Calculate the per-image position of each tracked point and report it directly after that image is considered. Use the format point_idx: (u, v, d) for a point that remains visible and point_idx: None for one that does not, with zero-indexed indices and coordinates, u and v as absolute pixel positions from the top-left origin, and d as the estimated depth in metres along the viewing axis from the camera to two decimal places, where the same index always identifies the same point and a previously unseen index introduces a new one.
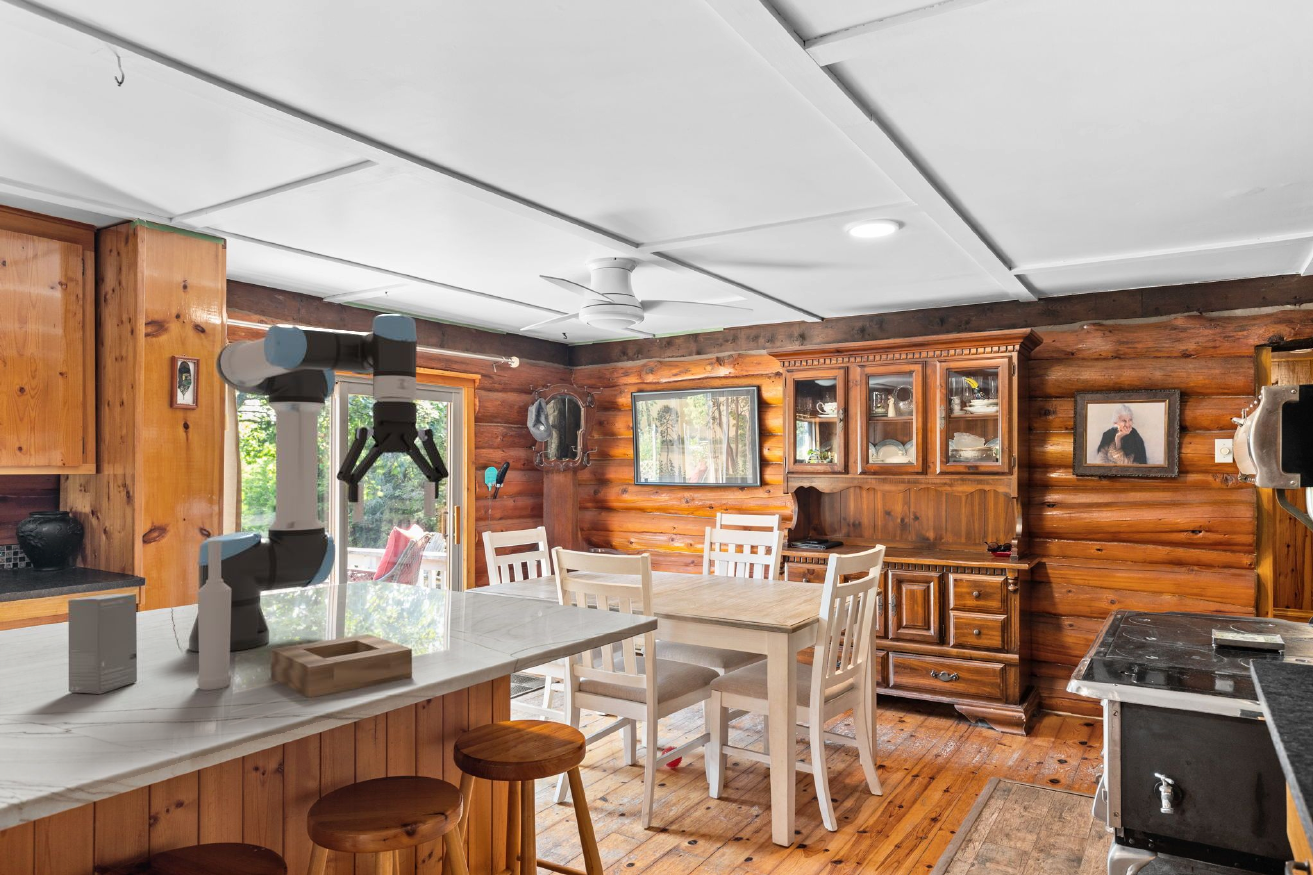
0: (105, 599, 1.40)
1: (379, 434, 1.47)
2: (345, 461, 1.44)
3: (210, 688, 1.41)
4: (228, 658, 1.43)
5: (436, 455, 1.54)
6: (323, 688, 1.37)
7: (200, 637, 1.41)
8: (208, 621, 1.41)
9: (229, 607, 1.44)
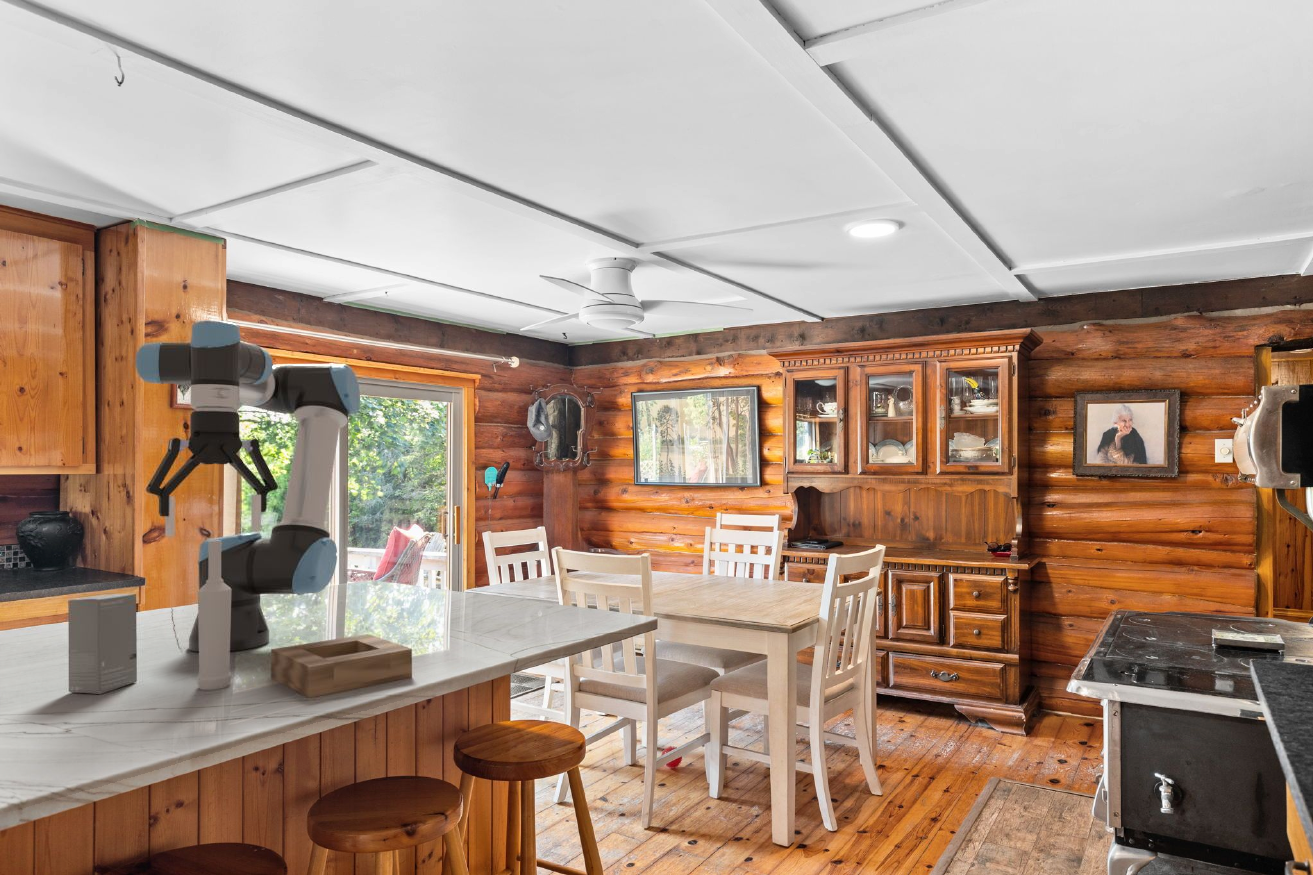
0: (105, 599, 1.40)
1: (194, 445, 1.41)
2: (155, 473, 1.38)
3: (210, 688, 1.41)
4: (228, 658, 1.43)
5: (263, 466, 1.48)
6: (323, 688, 1.37)
7: (200, 637, 1.41)
8: (208, 621, 1.41)
9: (229, 607, 1.44)
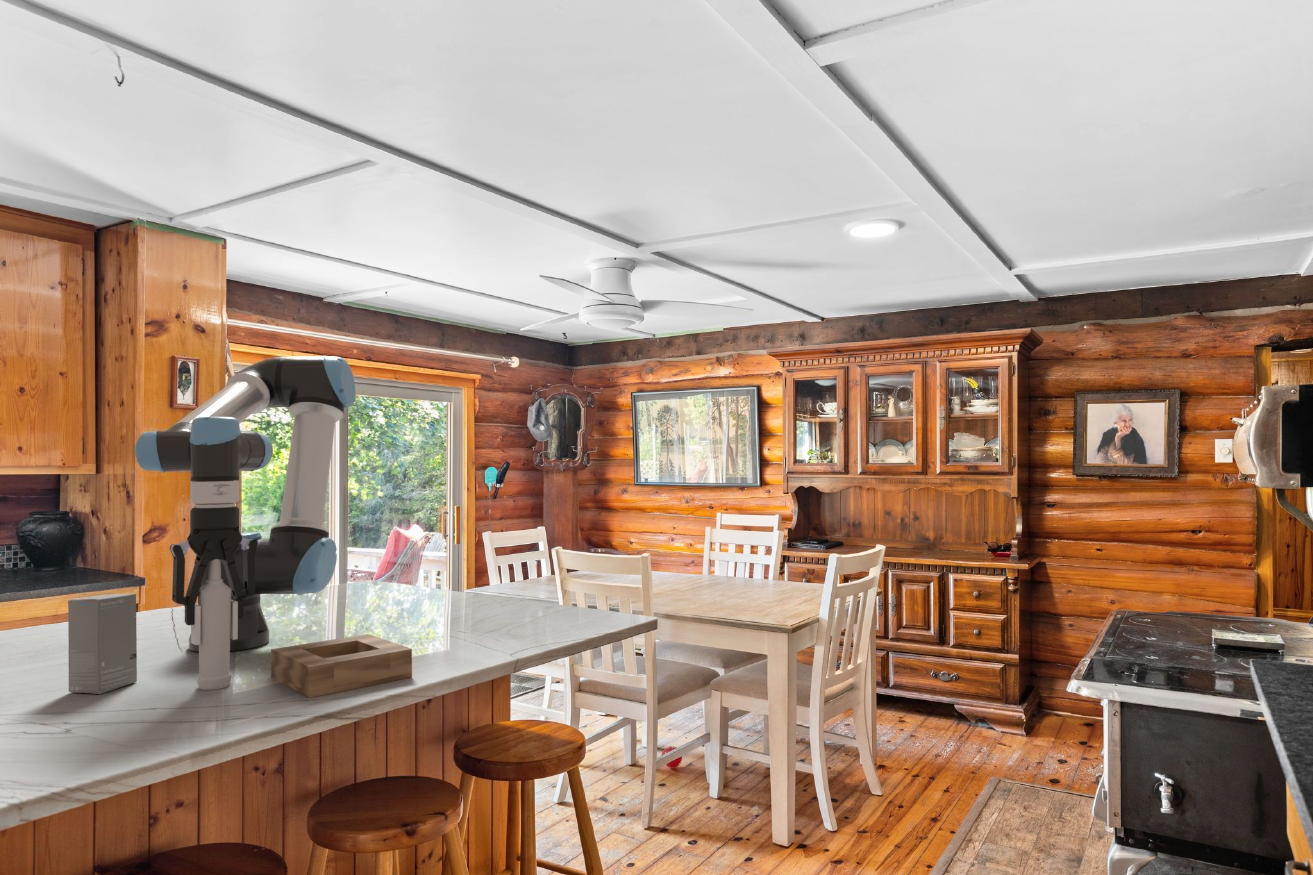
0: (105, 599, 1.40)
1: (195, 543, 1.41)
2: (173, 583, 1.40)
3: (210, 688, 1.41)
4: (228, 658, 1.43)
5: (250, 569, 1.46)
6: (323, 688, 1.37)
7: (200, 637, 1.41)
8: (208, 621, 1.41)
9: (229, 607, 1.44)
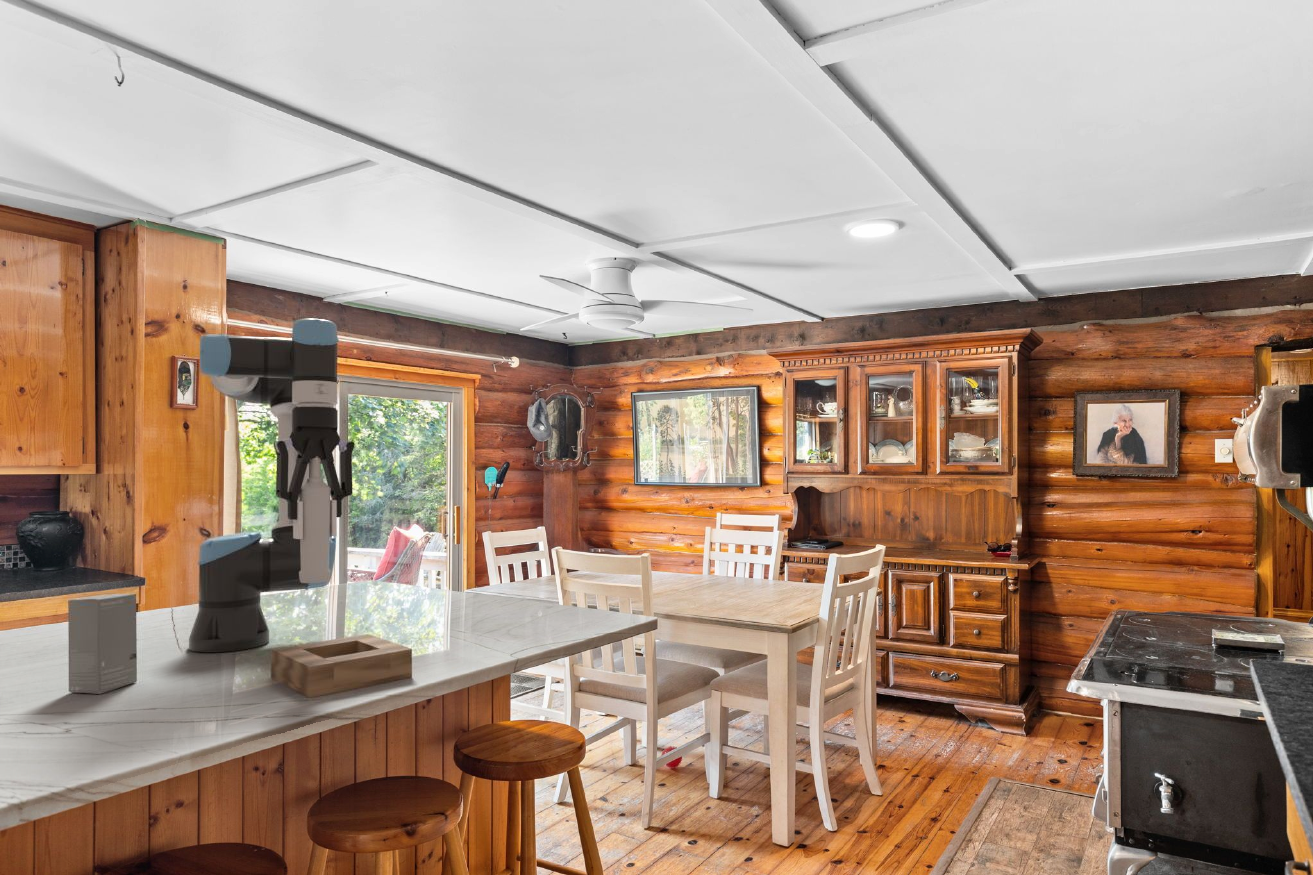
0: (105, 599, 1.40)
1: (298, 440, 1.45)
2: (277, 478, 1.44)
3: (312, 581, 1.45)
4: (328, 554, 1.47)
5: (348, 469, 1.50)
6: (323, 688, 1.37)
7: None
8: (310, 517, 1.45)
9: (329, 505, 1.48)
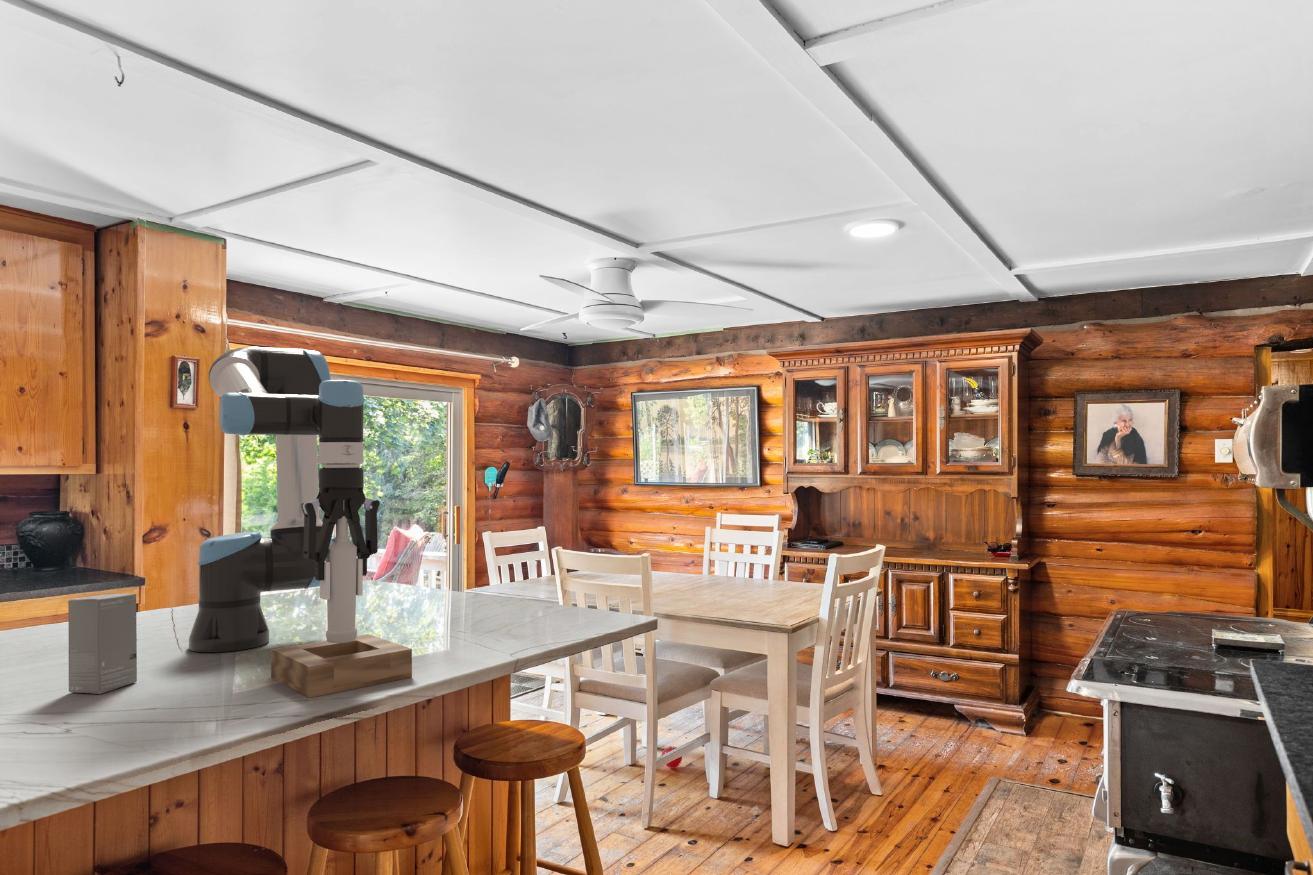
0: (105, 599, 1.40)
1: (325, 501, 1.46)
2: (305, 540, 1.45)
3: (339, 641, 1.46)
4: (354, 613, 1.49)
5: (373, 528, 1.52)
6: (323, 688, 1.37)
7: None
8: (337, 577, 1.46)
9: (355, 564, 1.49)
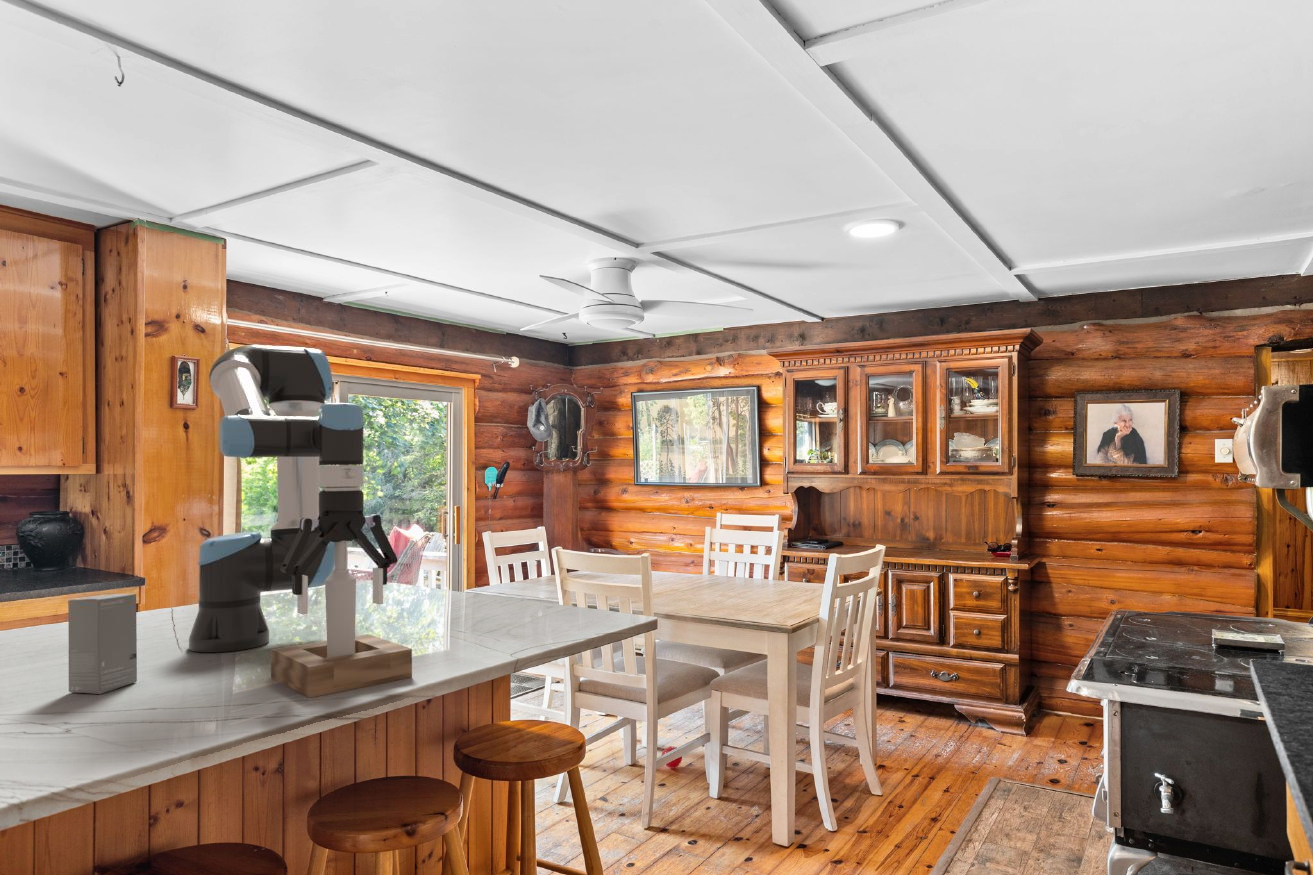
0: (105, 599, 1.40)
1: (324, 524, 1.46)
2: (289, 553, 1.43)
3: None
4: (354, 645, 1.48)
5: (384, 541, 1.53)
6: (323, 688, 1.37)
7: (329, 624, 1.46)
8: (336, 609, 1.46)
9: (354, 595, 1.49)
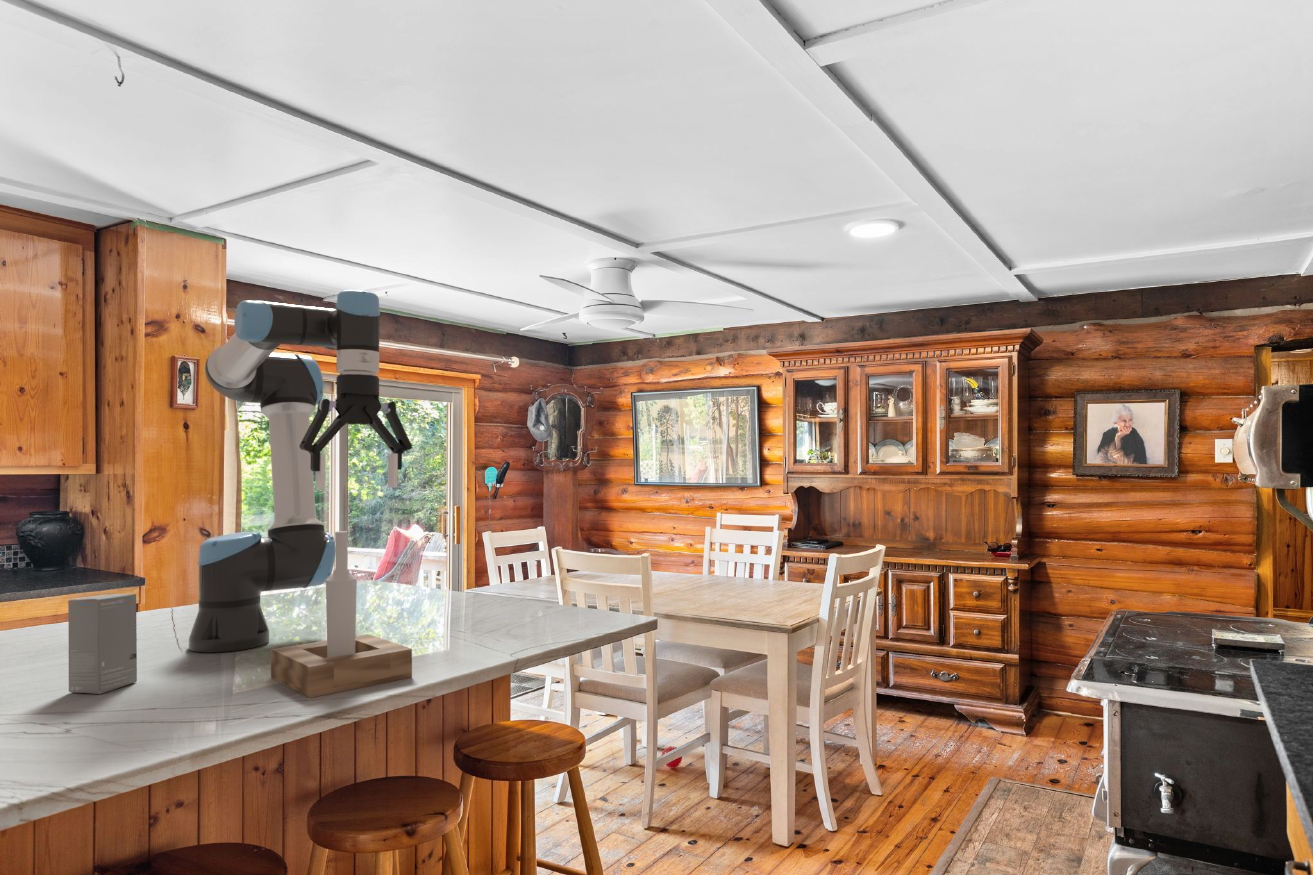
0: (105, 599, 1.40)
1: (341, 406, 1.52)
2: (308, 431, 1.49)
3: None
4: (354, 645, 1.48)
5: (399, 427, 1.59)
6: (323, 688, 1.37)
7: (329, 625, 1.46)
8: (337, 609, 1.46)
9: (355, 596, 1.49)
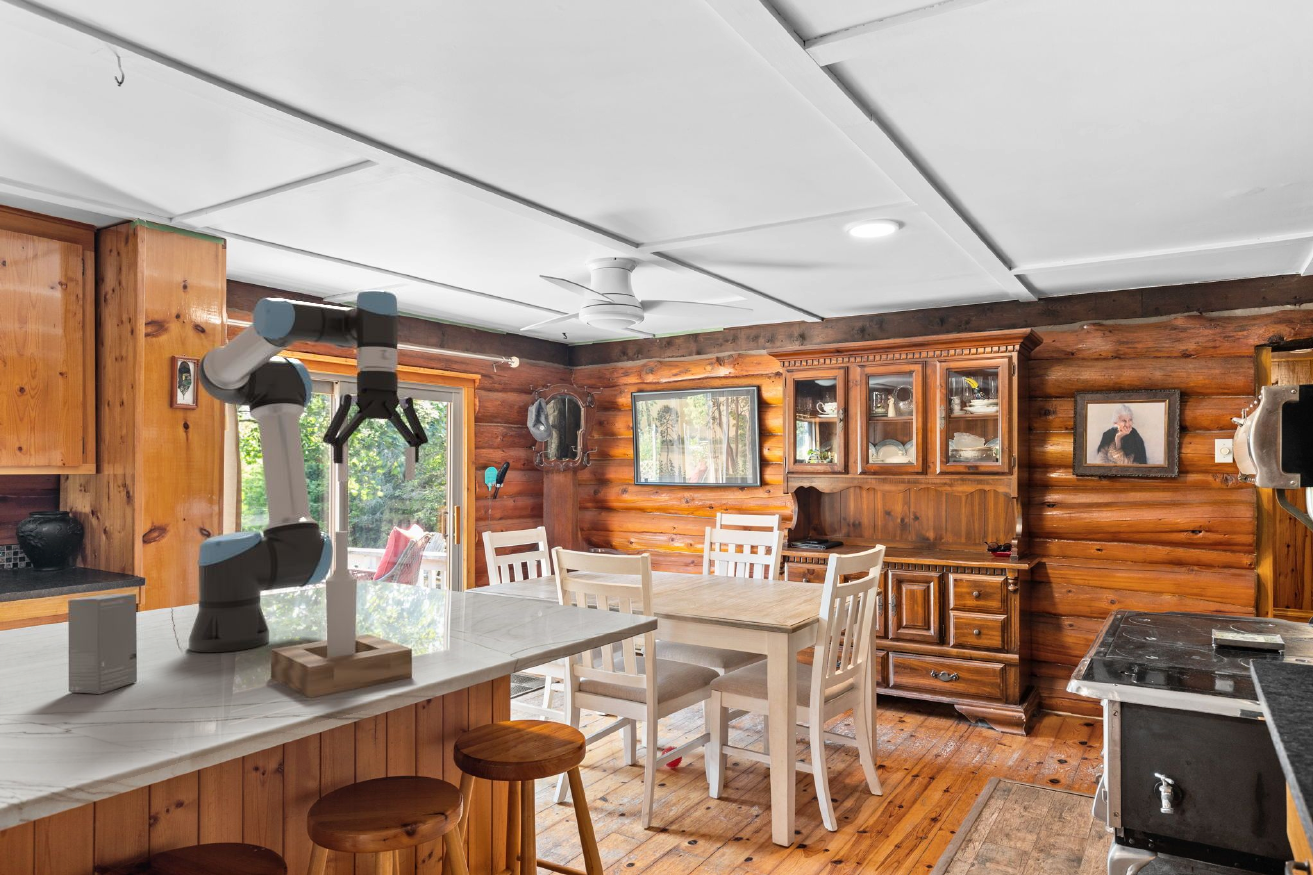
0: (105, 599, 1.40)
1: (362, 401, 1.58)
2: (331, 425, 1.55)
3: None
4: (354, 645, 1.48)
5: (416, 422, 1.66)
6: (323, 688, 1.37)
7: (329, 624, 1.46)
8: (337, 609, 1.46)
9: (355, 596, 1.49)
